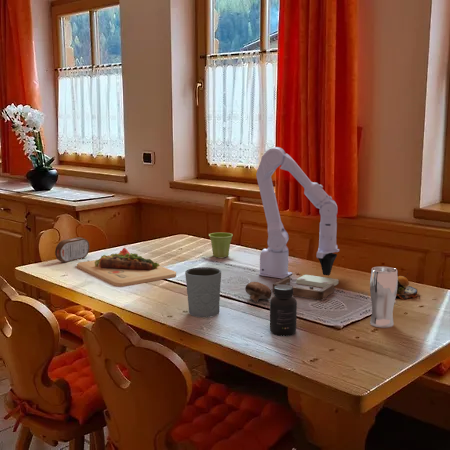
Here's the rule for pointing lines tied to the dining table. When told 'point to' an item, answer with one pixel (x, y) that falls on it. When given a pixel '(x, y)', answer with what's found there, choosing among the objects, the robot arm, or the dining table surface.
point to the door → (316, 281)
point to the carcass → (307, 290)
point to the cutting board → (126, 269)
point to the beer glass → (383, 296)
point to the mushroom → (258, 291)
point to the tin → (72, 249)
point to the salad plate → (405, 288)
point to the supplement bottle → (283, 311)
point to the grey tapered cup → (203, 291)
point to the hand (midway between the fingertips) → (326, 274)
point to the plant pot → (220, 244)
